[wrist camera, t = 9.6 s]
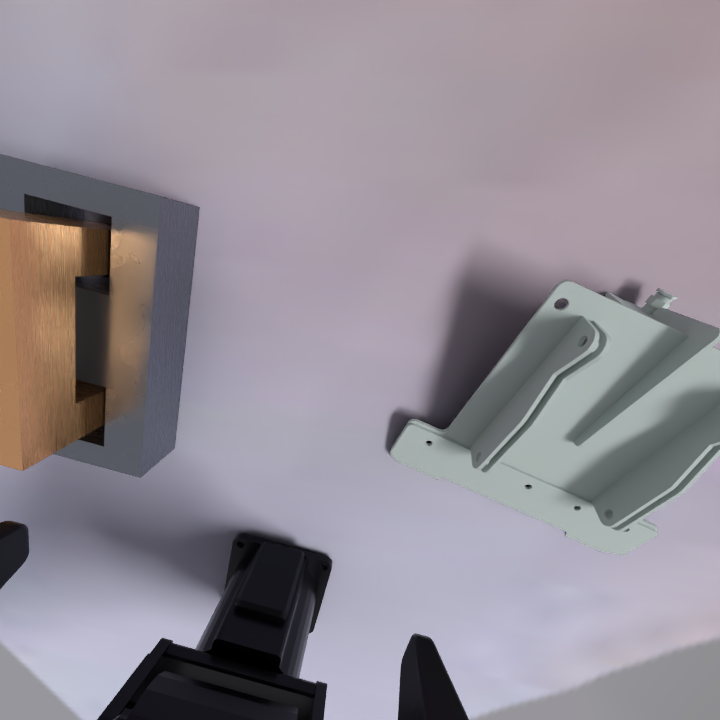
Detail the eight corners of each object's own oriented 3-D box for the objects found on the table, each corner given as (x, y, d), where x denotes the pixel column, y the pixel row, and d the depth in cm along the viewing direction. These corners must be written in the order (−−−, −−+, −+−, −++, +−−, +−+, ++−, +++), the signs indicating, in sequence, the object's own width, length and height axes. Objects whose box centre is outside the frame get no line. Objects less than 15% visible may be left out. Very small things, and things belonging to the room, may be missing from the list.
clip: (134, 407, 20) (22, 470, 14) (94, 396, 21) (-35, 455, 14) (143, 234, 18) (8, 219, 11) (97, 222, 18) (-63, 200, 11)
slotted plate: (174, 448, 21) (140, 477, 18) (50, 414, 21) (-4, 438, 18) (199, 207, 17) (160, 196, 14) (45, 166, 17) (-25, 147, 14)
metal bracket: (544, 247, 11) (939, 431, 12) (512, 218, 16) (792, 348, 17) (375, 490, 19) (616, 594, 19) (388, 421, 24) (581, 505, 24)
